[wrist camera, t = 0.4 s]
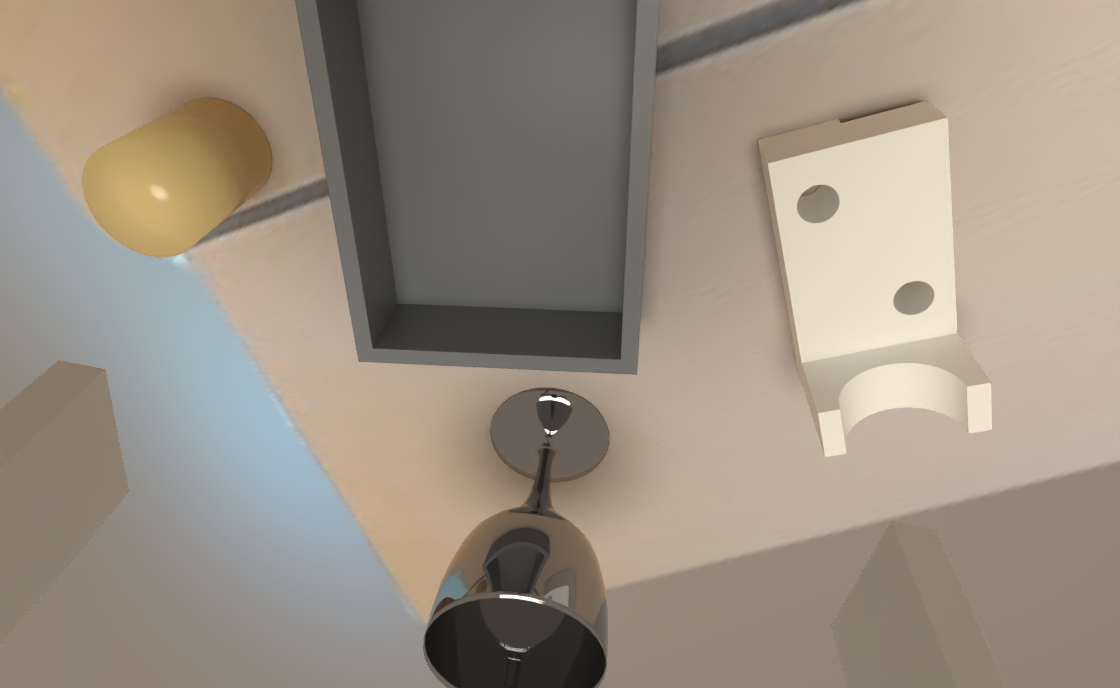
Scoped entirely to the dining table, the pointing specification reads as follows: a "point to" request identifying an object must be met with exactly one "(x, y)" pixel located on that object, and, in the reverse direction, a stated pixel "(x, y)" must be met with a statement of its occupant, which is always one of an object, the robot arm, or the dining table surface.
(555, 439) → the wine glass
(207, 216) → the ochre canister
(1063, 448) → the dining table surface
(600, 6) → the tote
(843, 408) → the bracket
